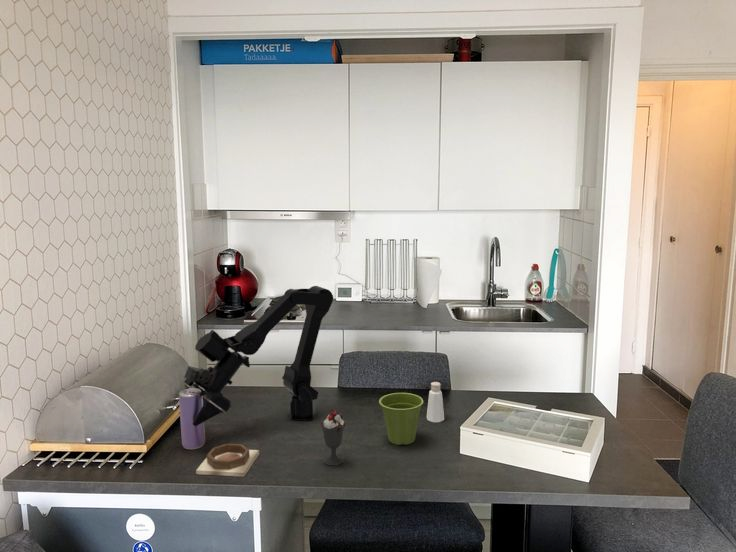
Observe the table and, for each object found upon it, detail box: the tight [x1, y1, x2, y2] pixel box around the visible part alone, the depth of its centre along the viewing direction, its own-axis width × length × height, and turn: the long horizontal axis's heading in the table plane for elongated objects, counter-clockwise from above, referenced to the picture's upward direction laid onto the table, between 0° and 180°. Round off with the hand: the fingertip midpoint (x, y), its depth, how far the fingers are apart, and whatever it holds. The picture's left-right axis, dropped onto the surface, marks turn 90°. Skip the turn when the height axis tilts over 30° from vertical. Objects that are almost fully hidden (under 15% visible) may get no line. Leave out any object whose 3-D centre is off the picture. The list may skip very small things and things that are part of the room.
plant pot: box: [378, 392, 424, 446], centre depth 163 cm, size 12×12×11 cm
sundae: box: [319, 407, 347, 467], centre depth 151 cm, size 7×7×15 cm
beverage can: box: [178, 388, 206, 450], centre depth 161 cm, size 6×6×15 cm
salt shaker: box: [426, 381, 445, 423], centre depth 176 cm, size 5×5×11 cm
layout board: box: [195, 443, 260, 478], centre depth 151 cm, size 12×12×3 cm
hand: (187, 419), depth 160 cm, fingers open, 9 cm apart
